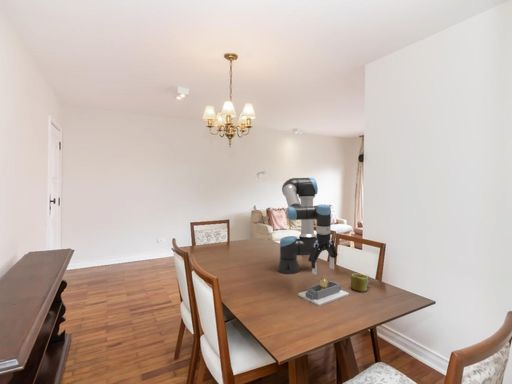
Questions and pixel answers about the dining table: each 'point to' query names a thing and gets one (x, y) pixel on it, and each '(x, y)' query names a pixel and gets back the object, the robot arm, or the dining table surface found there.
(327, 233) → the robot arm
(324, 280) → the pin
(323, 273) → the dining table surface
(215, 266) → the dining table surface
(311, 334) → the dining table surface
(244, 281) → the dining table surface
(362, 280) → the mug
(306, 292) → the white grey flat tray
